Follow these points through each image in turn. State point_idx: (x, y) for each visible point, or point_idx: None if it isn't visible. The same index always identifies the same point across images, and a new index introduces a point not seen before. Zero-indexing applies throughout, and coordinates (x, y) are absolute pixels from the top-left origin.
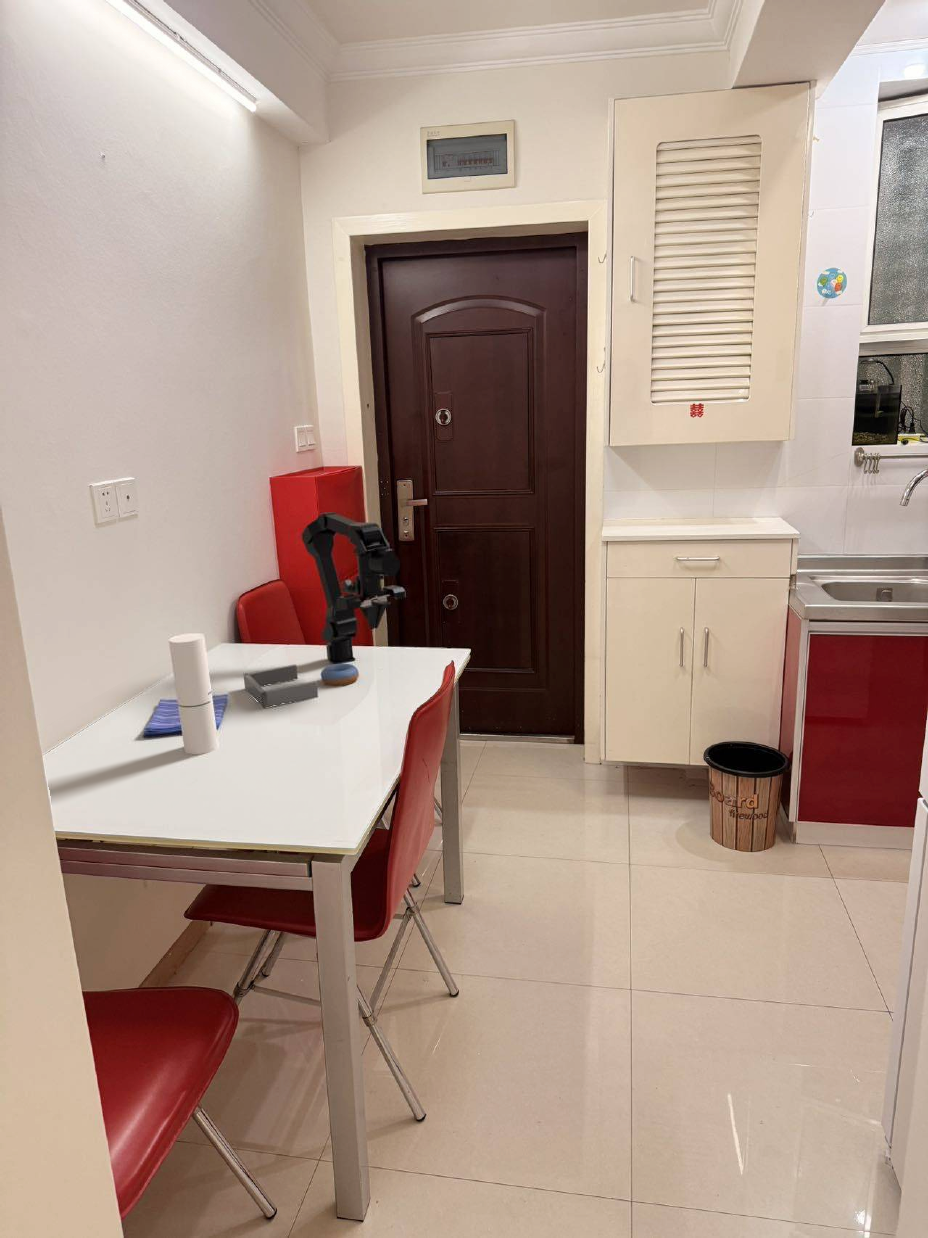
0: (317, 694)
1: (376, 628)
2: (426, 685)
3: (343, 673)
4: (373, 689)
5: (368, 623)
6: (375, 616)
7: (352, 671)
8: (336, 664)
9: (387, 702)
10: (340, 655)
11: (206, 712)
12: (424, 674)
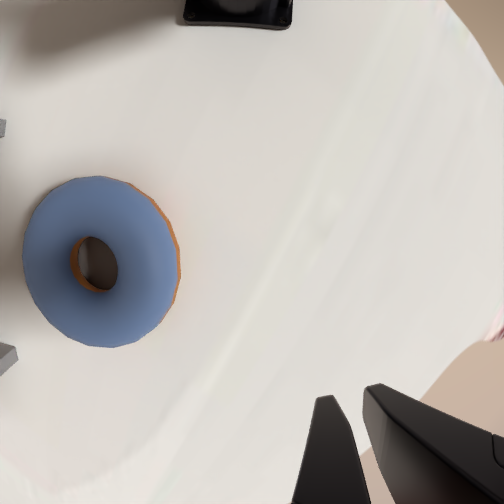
0: (13, 363)
1: (365, 414)
2: None
3: (85, 343)
4: (180, 421)
5: (307, 441)
6: (425, 501)
7: (127, 341)
8: (87, 210)
9: (178, 499)
10: (218, 1)
11: None
12: (395, 389)
